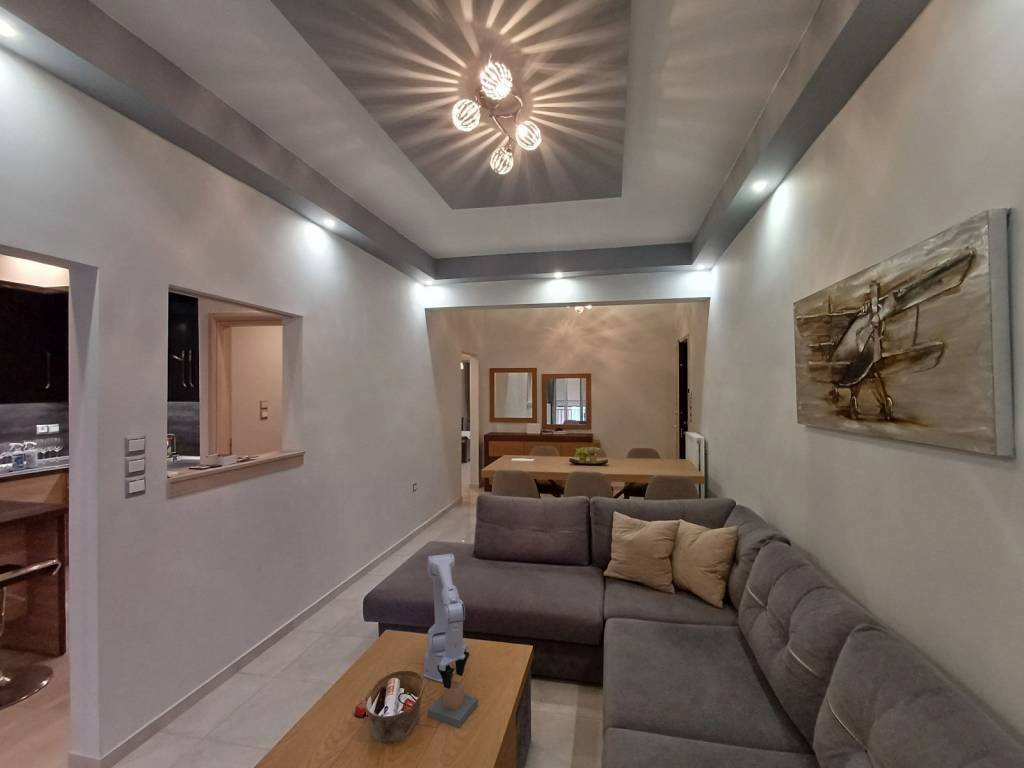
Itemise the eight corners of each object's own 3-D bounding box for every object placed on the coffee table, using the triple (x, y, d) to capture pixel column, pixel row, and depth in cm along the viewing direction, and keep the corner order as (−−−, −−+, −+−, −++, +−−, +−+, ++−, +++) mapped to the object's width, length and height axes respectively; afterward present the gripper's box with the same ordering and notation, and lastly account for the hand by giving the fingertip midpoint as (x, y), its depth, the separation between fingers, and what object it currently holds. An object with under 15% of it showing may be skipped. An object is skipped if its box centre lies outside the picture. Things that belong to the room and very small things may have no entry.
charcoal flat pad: (427, 718, 156) (427, 709, 156) (447, 697, 167) (447, 688, 167) (459, 730, 151) (459, 720, 151) (477, 707, 162) (477, 698, 162)
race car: (358, 721, 154) (359, 709, 154) (351, 713, 158) (351, 701, 158) (395, 703, 163) (396, 692, 163) (388, 696, 167) (388, 684, 167)
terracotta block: (443, 706, 158) (443, 688, 158) (451, 697, 163) (451, 679, 163) (456, 710, 156) (456, 692, 156) (464, 701, 160) (464, 683, 161)
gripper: (452, 653, 151) (451, 697, 151) (475, 632, 164) (474, 672, 164) (433, 648, 154) (433, 690, 154) (457, 628, 167) (457, 667, 167)
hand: (453, 681), depth 159 cm, fingers open, 7 cm apart
